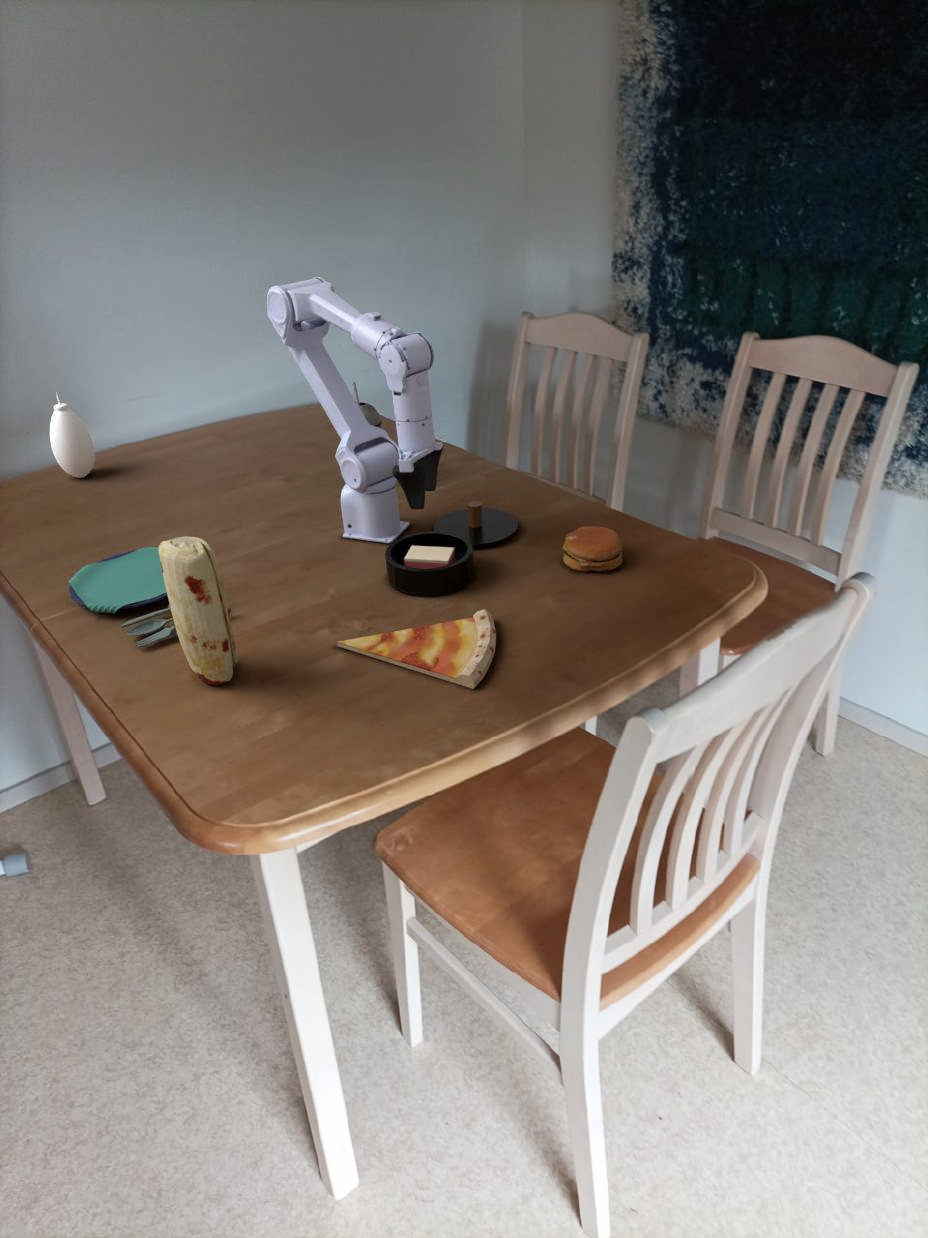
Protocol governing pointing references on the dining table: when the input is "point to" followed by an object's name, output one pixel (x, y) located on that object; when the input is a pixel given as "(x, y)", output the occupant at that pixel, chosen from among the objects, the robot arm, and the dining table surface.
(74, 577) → the cutlery set
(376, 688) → the dining table surface
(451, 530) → the pan lid
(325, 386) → the robot arm
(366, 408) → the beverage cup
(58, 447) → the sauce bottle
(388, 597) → the dining table surface
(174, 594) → the food model
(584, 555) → the burger
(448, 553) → the red and cream block
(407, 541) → the pan
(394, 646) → the pizza slice
